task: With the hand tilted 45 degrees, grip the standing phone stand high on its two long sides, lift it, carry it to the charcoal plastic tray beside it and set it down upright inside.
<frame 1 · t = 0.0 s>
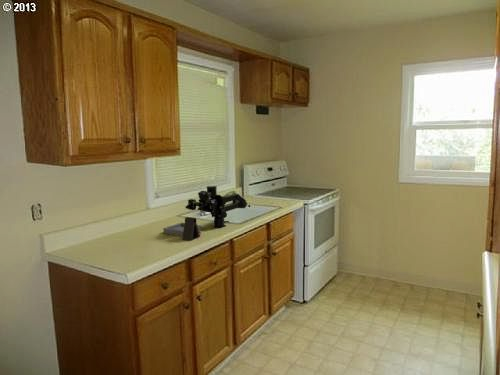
hand: (191, 208, 211), 17 cm above the worktop, tool horizontal, fingers open, 9 cm apart
tray: (182, 231, 223), on the worktop
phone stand: (191, 238, 209), on the worktop
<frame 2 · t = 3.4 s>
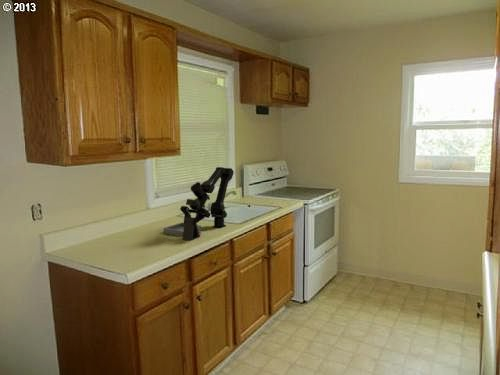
hand: (188, 224, 206), 9 cm above the worktop, tool tilted 45°, fingers closed on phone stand, 6 cm apart
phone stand: (191, 238, 209), on the worktop, touching gripper
when the fingers open (10 cm above the worktop, at t = 8.4 s): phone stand stays where it is, resting on tray.
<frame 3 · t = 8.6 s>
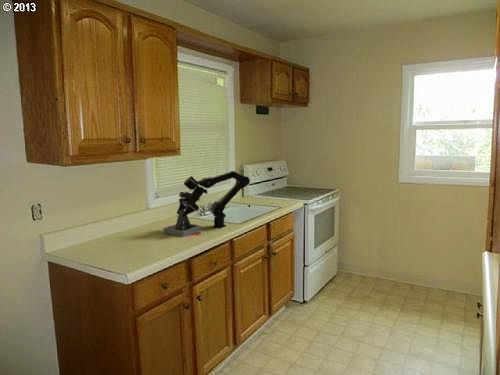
hand: (179, 215, 221), 11 cm above the worktop, tool tilted 45°, fingers open, 8 cm apart
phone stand: (183, 230, 223), point 1 cm above the worktop, touching tray
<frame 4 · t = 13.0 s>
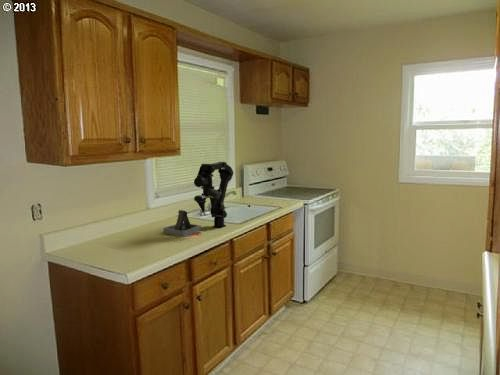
hand: (208, 210, 220), 13 cm above the worktop, tool pointing down, fingers open, 9 cm apart
nothing on the worktop moved.
at the end: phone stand inside the target area on the tray (0.6 cm from its centre), point 0.8 cm above the tray's base; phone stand tilted 0°; the gripper is holding nothing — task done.
